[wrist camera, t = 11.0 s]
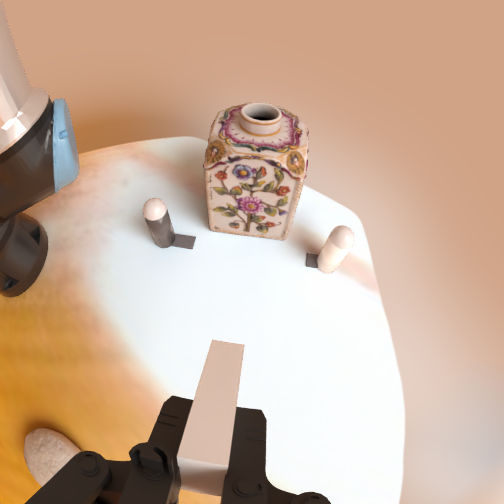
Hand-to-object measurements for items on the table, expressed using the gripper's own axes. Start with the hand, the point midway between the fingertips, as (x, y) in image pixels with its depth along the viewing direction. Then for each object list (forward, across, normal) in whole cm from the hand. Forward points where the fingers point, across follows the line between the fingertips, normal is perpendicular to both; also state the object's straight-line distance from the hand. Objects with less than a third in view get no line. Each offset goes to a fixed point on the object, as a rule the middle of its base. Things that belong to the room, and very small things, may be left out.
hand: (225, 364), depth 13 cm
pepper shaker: (+28, -13, -2) cm, 31 cm away
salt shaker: (+28, +11, -2) cm, 30 cm away
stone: (+2, -21, -29) cm, 36 cm away
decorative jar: (+34, -1, +3) cm, 34 cm away
